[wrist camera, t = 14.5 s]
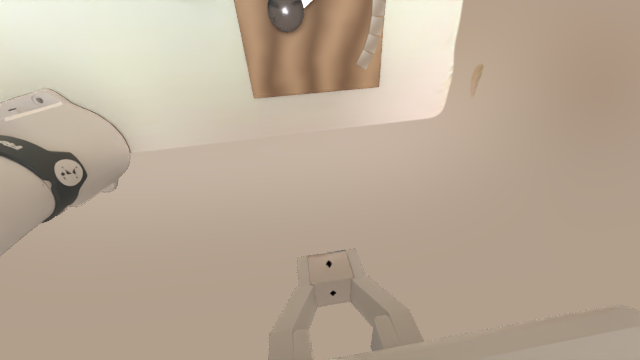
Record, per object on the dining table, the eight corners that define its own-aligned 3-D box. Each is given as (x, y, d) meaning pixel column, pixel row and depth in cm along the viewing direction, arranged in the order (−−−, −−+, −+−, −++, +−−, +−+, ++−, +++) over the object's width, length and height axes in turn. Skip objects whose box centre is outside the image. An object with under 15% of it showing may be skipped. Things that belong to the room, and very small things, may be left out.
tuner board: (254, 96, 40) (254, 98, 39) (214, -101, 28) (211, -107, 26) (376, 85, 42) (379, 87, 40) (389, -104, 29) (393, -110, 28)
